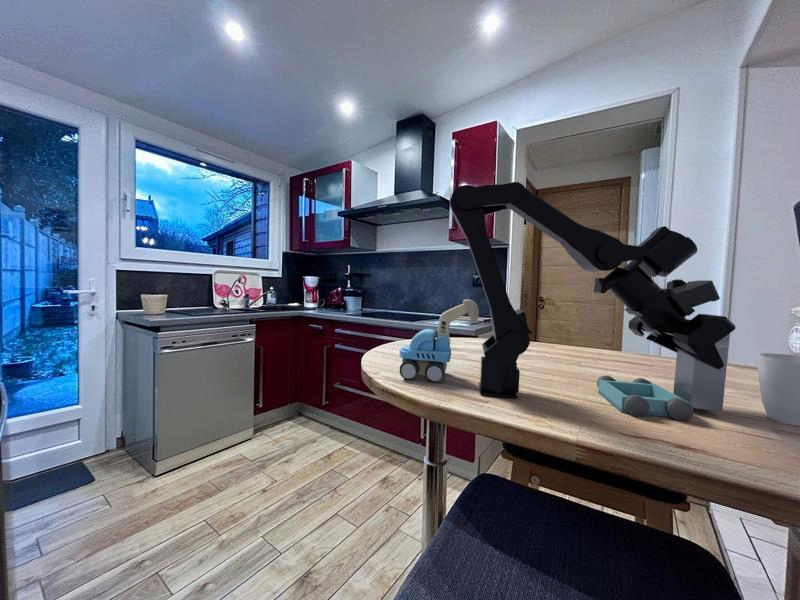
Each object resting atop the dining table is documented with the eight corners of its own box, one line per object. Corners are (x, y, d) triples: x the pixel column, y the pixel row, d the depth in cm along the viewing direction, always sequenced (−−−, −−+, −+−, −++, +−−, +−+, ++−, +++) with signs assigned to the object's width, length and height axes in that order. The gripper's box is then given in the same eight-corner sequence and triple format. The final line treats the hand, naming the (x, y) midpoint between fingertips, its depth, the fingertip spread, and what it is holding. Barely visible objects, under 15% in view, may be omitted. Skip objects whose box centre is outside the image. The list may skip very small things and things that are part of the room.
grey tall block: (690, 407, 53) (697, 329, 52) (672, 398, 57) (679, 325, 56) (722, 410, 52) (730, 331, 51) (702, 400, 56) (709, 327, 56)
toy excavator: (476, 387, 64) (480, 301, 63) (395, 380, 67) (396, 298, 66) (476, 375, 72) (479, 299, 71) (403, 369, 76) (405, 296, 74)
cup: (851, 436, 46) (859, 368, 45) (776, 426, 49) (783, 362, 48) (802, 414, 54) (808, 355, 53) (740, 407, 56) (745, 351, 56)
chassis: (625, 415, 51) (626, 395, 51) (595, 390, 63) (596, 374, 63) (693, 422, 50) (695, 401, 49) (650, 395, 61) (651, 378, 61)
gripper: (725, 259, 45) (814, 343, 43) (650, 265, 63) (711, 324, 61) (656, 312, 47) (739, 394, 45) (603, 303, 65) (661, 361, 64)
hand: (709, 363), depth 54 cm, fingers closed on grey tall block, 4 cm apart
